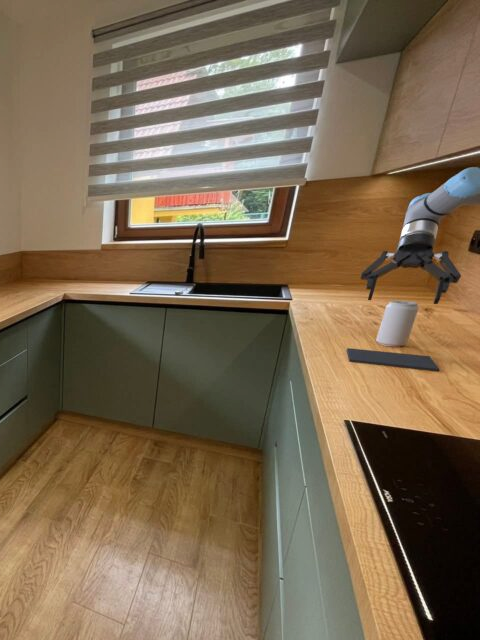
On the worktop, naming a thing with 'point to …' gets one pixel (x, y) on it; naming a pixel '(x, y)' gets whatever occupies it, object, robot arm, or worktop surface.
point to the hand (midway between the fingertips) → (402, 299)
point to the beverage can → (397, 323)
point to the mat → (392, 359)
